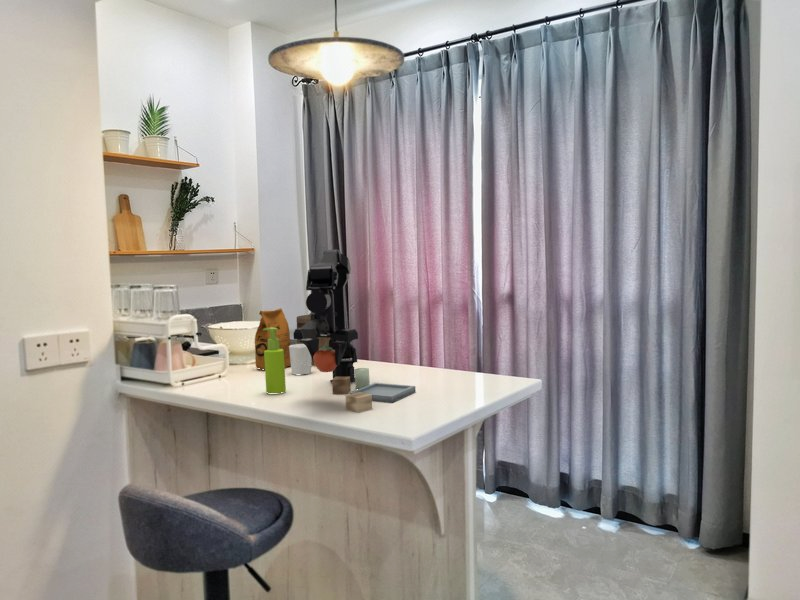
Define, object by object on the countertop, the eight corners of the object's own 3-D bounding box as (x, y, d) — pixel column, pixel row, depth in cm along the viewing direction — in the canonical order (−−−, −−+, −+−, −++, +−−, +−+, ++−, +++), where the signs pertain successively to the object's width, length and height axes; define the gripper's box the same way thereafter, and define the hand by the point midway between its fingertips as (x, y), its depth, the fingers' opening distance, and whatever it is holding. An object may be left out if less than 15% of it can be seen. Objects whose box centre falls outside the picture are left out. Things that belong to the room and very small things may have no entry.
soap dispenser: (277, 389, 199) (273, 326, 198) (289, 392, 195) (286, 327, 193) (260, 392, 195) (257, 328, 194) (273, 395, 190) (269, 329, 189)
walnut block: (332, 394, 189) (331, 379, 189) (336, 391, 194) (335, 376, 193) (347, 394, 189) (346, 379, 188) (350, 391, 193) (350, 376, 193)
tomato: (342, 372, 177) (341, 343, 176) (315, 374, 175) (314, 345, 174) (337, 367, 184) (336, 340, 183) (311, 369, 182) (310, 342, 181)
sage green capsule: (352, 389, 195) (351, 370, 194) (360, 386, 199) (359, 367, 198) (364, 390, 193) (364, 371, 192) (372, 387, 197) (371, 368, 196)
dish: (350, 398, 183) (349, 392, 182) (375, 388, 195) (375, 382, 195) (392, 402, 176) (391, 396, 176) (415, 392, 188) (415, 386, 188)
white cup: (317, 372, 225) (315, 344, 224) (302, 376, 218) (301, 347, 218) (300, 370, 229) (299, 343, 228) (285, 374, 223) (284, 346, 222)
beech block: (346, 410, 170) (345, 395, 170) (360, 406, 174) (359, 392, 174) (358, 413, 167) (357, 398, 166) (372, 409, 170) (371, 394, 170)
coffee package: (251, 369, 235) (248, 310, 233) (277, 364, 244) (274, 307, 243) (269, 372, 228) (266, 311, 227) (295, 366, 238) (292, 308, 237)
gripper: (279, 312, 176) (282, 367, 177) (334, 313, 166) (337, 371, 168) (304, 308, 185) (307, 360, 186) (357, 309, 176) (360, 364, 177)
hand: (326, 364), depth 179 cm, fingers closed on tomato, 7 cm apart
